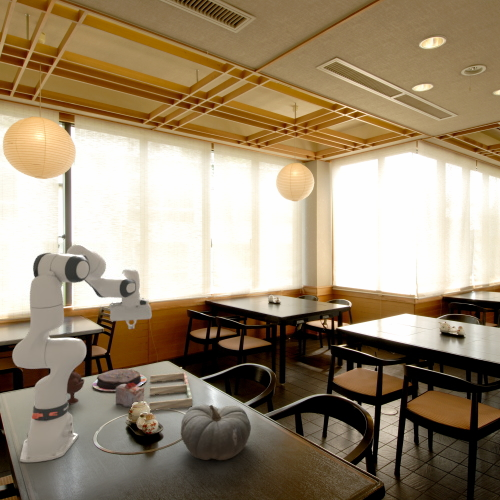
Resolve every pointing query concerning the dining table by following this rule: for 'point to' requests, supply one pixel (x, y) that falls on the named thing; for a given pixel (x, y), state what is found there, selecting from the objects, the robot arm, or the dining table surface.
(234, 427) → the gourd
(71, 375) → the ice cream bowl
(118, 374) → the chocolate cake
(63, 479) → the dining table surface
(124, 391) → the food item
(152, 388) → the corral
